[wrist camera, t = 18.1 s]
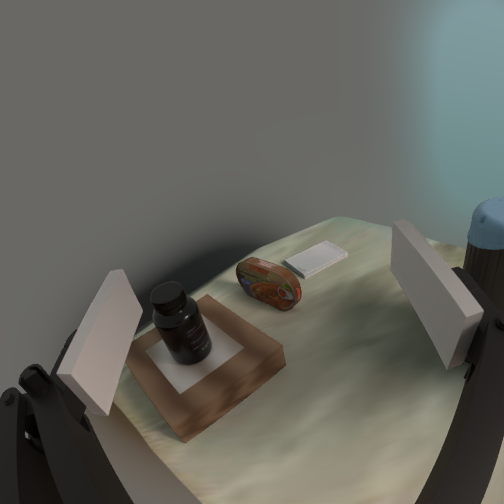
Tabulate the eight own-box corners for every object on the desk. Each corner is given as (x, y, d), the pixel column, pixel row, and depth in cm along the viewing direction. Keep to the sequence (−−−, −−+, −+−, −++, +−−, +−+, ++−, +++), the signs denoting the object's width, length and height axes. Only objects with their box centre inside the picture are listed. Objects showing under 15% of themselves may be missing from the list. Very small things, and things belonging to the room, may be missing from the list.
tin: (239, 291, 66) (230, 258, 62) (249, 283, 68) (241, 250, 64) (296, 317, 56) (290, 281, 52) (306, 307, 58) (301, 271, 54)
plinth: (214, 313, 62) (207, 293, 59) (285, 365, 47) (281, 344, 45) (130, 368, 52) (118, 350, 49) (184, 443, 38) (171, 427, 35)
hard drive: (304, 275, 65) (347, 251, 69) (283, 259, 72) (325, 238, 75) (305, 281, 66) (348, 257, 70) (284, 265, 72) (325, 244, 76)
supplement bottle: (164, 360, 46) (132, 303, 40) (186, 331, 51) (161, 273, 45) (199, 372, 43) (170, 312, 37) (221, 339, 48) (199, 279, 42)
